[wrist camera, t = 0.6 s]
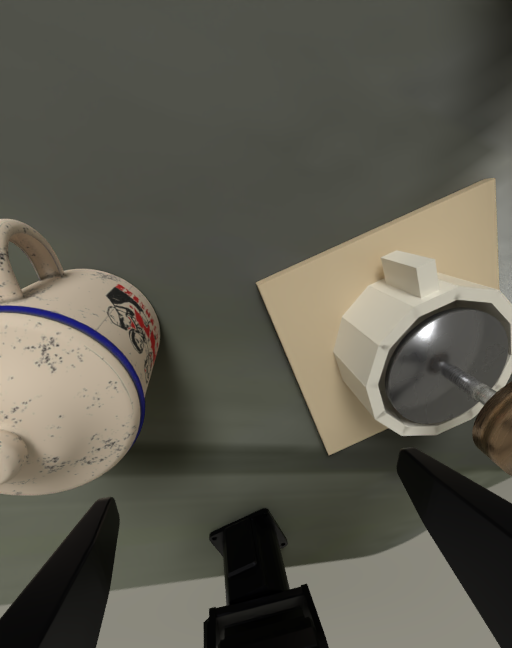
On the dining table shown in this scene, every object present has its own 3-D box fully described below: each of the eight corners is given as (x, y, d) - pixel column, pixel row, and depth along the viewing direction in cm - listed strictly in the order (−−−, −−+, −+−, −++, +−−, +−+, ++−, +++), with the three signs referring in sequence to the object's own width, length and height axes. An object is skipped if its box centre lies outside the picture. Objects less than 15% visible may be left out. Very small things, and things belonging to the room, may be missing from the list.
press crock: (494, 371, 28) (562, 409, 23) (325, 448, 28) (354, 505, 23) (485, 178, 21) (580, 170, 16) (255, 282, 21) (274, 309, 16)
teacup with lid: (177, 373, 23) (157, 524, 12) (51, 397, 21) (-94, 587, 11) (132, 205, 18) (34, 207, 7) (-32, 226, 17) (-434, 264, 6)
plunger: (501, 387, 21) (617, 457, 16) (397, 435, 21) (472, 524, 15) (497, 285, 18) (644, 325, 12) (372, 342, 18) (458, 410, 12)
